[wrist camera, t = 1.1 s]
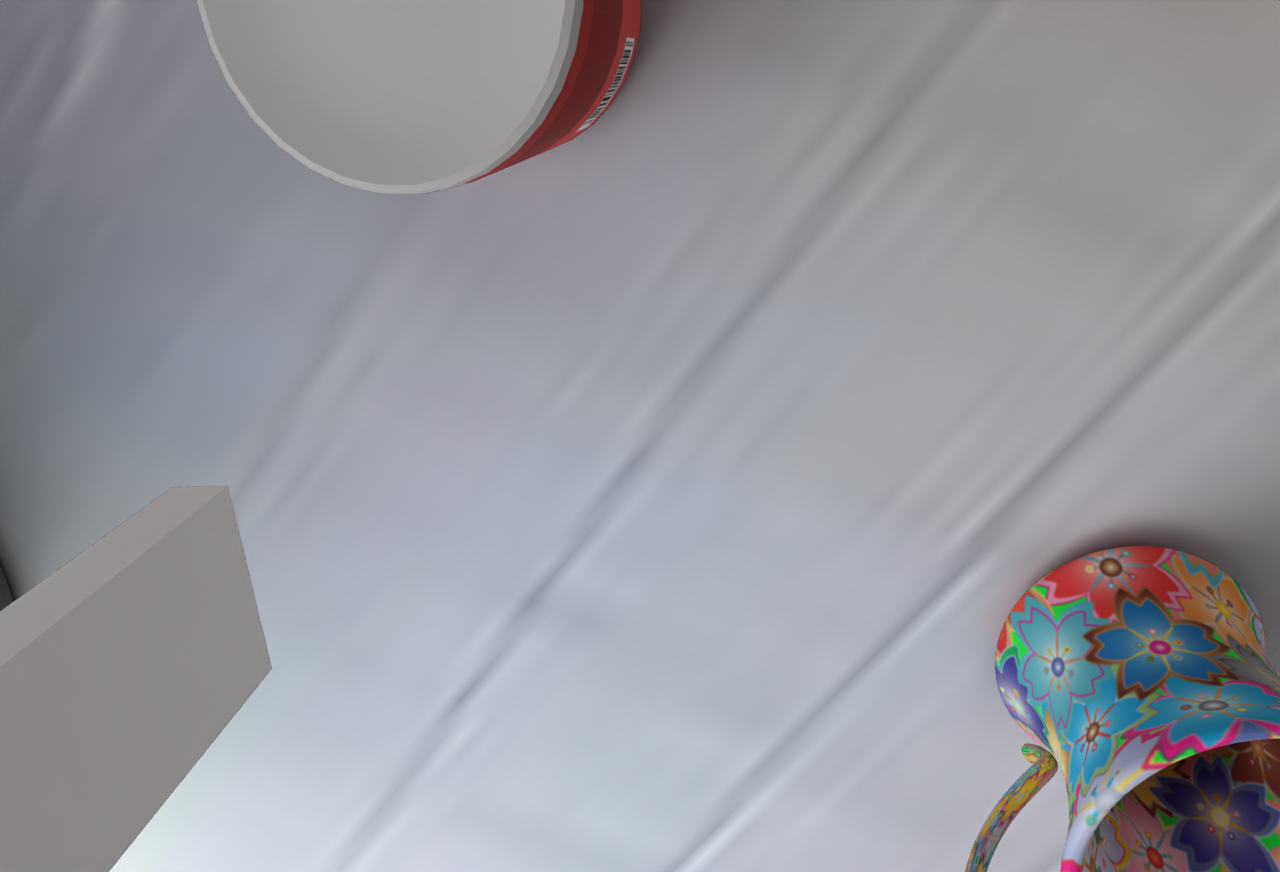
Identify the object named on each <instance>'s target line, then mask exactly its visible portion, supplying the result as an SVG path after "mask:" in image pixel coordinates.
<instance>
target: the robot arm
mask: <svg viewBox="0 0 1280 872" xmlns="http://www.w3.org/2000/svg"><path fill="white" fill-rule="evenodd" d="M271 669H272V667H271V663H270V658H269V654H268V650H267V646H266V642H265V638H264V633H263V629H262V625H261V621H260V617H259V613H258V608H257V604H256V600H255V596H254V592H253V588H252V583H251V579H250V575H249V571H248V567H247V563H246V558H245V554H244V550H243V546H242V542H241V538H240V533H239V529H238V525H237V521H236V517H235V513H234V509H233V504H232V500H231V496H230V492H229V488H228V486H194V487H172V488H170V489H169V490H168V491H166V492H165V493H164V494H162V495H161V496H159V497H158V498H157V499H155V500H154V501H152V502H151V503H150V504H148V505H147V506H146V507H144V508H143V509H141V510H140V511H139V512H137V513H136V514H134V515H133V516H132V517H130V518H129V519H128V520H126V521H125V522H123V523H122V524H121V525H119V526H118V527H116V528H115V529H114V530H112V531H111V532H110V533H108V534H107V535H105V536H104V537H103V538H101V539H100V540H98V541H97V542H96V543H94V544H93V545H92V546H90V547H89V548H87V549H86V550H85V551H83V552H82V553H80V554H79V555H78V556H76V557H75V558H74V559H72V560H71V561H69V562H68V563H67V564H65V565H64V566H62V567H61V568H60V569H58V570H57V571H56V572H54V573H53V574H51V575H50V576H49V577H47V578H46V579H44V580H43V581H42V582H40V583H39V584H38V585H36V586H35V587H33V588H32V589H31V590H29V591H28V592H26V593H25V594H24V595H22V596H21V597H20V598H18V599H17V600H15V601H14V602H13V599H12V595H11V592H10V589H9V586H8V583H7V580H6V578H5V575H4V573H3V571H2V568H1V566H0V872H109V871H110V870H111V869H112V867H113V866H114V865H115V864H116V862H117V861H118V860H119V859H120V857H121V856H122V855H123V854H124V852H125V851H126V850H127V849H128V847H129V846H130V845H131V844H132V842H133V841H134V840H135V839H136V837H137V836H138V835H139V834H140V832H141V831H142V830H143V829H144V827H145V826H146V825H147V824H148V822H149V821H150V820H151V819H152V817H153V816H154V815H155V814H156V813H157V811H158V810H159V809H160V808H161V806H162V805H163V804H164V803H165V801H166V800H167V799H168V798H169V796H170V795H171V794H172V793H173V791H174V790H175V789H176V788H177V786H178V785H179V784H180V783H181V781H182V780H183V779H184V778H185V776H186V775H187V774H188V773H189V771H190V770H191V769H192V768H193V766H194V765H195V764H196V763H197V761H198V760H199V759H200V758H201V756H202V755H203V754H204V753H205V751H206V750H207V749H208V748H209V746H210V745H211V744H212V743H213V742H214V740H215V739H216V738H217V737H218V735H219V734H220V733H221V732H222V730H223V729H224V728H225V727H226V725H227V724H228V723H229V722H230V720H231V719H232V718H233V717H234V715H235V714H236V713H237V712H238V710H239V709H240V708H241V707H242V705H243V704H244V703H245V702H246V700H247V699H248V698H249V697H250V695H251V694H252V693H253V692H254V690H255V689H256V688H257V687H258V685H259V684H260V683H261V682H262V680H263V679H264V678H265V677H266V676H267V674H268V673H269V672H270V671H271Z"/></svg>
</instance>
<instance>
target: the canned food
mask: <svg viewBox="0 0 1280 872" xmlns="http://www.w3.org/2000/svg"><path fill="white" fill-rule="evenodd" d="M197 4H198V8H199V11H200V14H201V18H202V21H203V24H204V28H205V31H206V34H207V38H208V41H209V44H210V47H211V49H212V51H213V53H214V56H215V58H216V60H217V62H218V64H219V66H220V68H221V70H222V72H223V74H224V76H225V78H226V81H227V83H228V85H229V86H230V88H231V89H232V91H233V92H234V93H235V95H236V96H237V98H238V99H239V101H240V102H241V103H242V105H243V106H244V108H245V109H246V111H247V112H248V114H249V115H250V116H251V118H252V119H253V120H254V121H255V122H256V123H257V124H258V125H259V126H260V127H261V128H262V129H263V130H264V131H265V133H266V134H267V135H268V136H269V137H270V138H271V139H272V140H273V141H274V142H275V143H276V144H277V145H278V146H279V147H280V148H282V149H283V150H284V151H286V152H287V153H289V154H290V155H291V156H293V157H294V158H296V159H297V160H298V161H300V162H301V163H303V164H304V165H305V166H307V167H308V168H310V169H311V170H313V171H315V172H317V173H320V174H322V175H324V176H326V177H328V178H330V179H333V180H335V181H337V182H339V183H341V184H343V185H347V186H351V187H355V188H359V189H363V190H368V191H372V192H376V193H396V194H424V193H429V192H434V191H439V190H444V189H449V188H454V187H458V186H460V185H463V184H465V183H470V182H473V181H476V180H478V179H481V178H483V177H485V176H488V175H490V174H493V173H495V172H497V171H500V170H502V169H504V168H507V167H509V166H512V165H514V164H516V163H519V162H521V161H524V160H526V159H528V158H531V157H533V156H536V155H538V154H540V153H543V152H545V151H548V150H550V149H552V148H554V147H557V146H559V145H561V144H563V143H566V142H568V141H570V140H572V139H574V138H575V137H576V136H578V135H579V134H581V133H582V132H583V131H585V130H586V129H587V128H589V127H590V126H591V125H593V124H594V123H595V122H596V121H597V119H598V118H599V117H600V116H601V115H602V114H603V113H604V112H605V111H606V110H607V108H608V107H609V106H610V105H611V104H612V102H613V100H614V99H615V97H616V95H617V94H618V92H619V90H620V89H621V87H622V85H623V84H624V82H625V80H626V78H627V75H628V72H629V70H630V67H631V64H632V62H633V59H634V56H635V53H636V48H637V42H638V37H639V32H640V26H641V0H197Z"/></svg>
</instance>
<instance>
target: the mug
mask: <svg viewBox="0 0 1280 872" xmlns="http://www.w3.org/2000/svg"><path fill="white" fill-rule="evenodd" d="M995 670H996V679H997V684H998V689H999V692H1000V695H1001V697H1002V700H1003V702H1004V704H1005V706H1006V708H1007V709H1008V711H1009V713H1010V714H1011V716H1012V717H1013V718H1014V720H1015V721H1016V722H1017V723H1018V724H1019V726H1020V727H1021V728H1022V729H1023V730H1024V731H1025V732H1026V733H1027V734H1028V735H1030V736H1031V737H1032V738H1033V739H1034V740H1036V741H1037V742H1039V743H1040V744H1042V745H1043V746H1044V747H1046V748H1048V749H1050V750H1051V752H1052V753H1053V755H1054V756H1055V758H1056V760H1057V761H1056V760H1055V758H1054V757H1053V755H1052V754H1051V753H1050V752H1048V751H1047V750H1046V749H1044V748H1042V747H1040V746H1037V745H1033V744H1024V745H1023V747H1022V753H1023V755H1024V756H1025V758H1026V759H1027V760H1028V761H1029V762H1031V763H1034V764H1033V765H1032V766H1031V767H1030V768H1029V769H1028V770H1027V771H1026V772H1025V773H1024V774H1023V775H1022V776H1021V777H1020V778H1019V779H1018V780H1017V781H1016V782H1015V783H1014V784H1013V785H1012V786H1011V787H1010V788H1009V789H1008V791H1007V792H1006V793H1005V794H1004V795H1003V796H1002V798H1001V799H1000V800H999V802H998V803H997V804H996V806H995V807H994V809H993V810H992V811H991V813H990V814H989V816H988V818H987V819H986V821H985V823H984V824H983V826H982V828H981V830H980V832H979V834H978V836H977V838H976V840H975V842H974V845H973V847H972V850H971V852H970V855H969V859H968V862H967V866H966V870H965V872H987V869H988V866H989V863H990V861H991V858H992V856H993V854H994V851H995V849H996V847H997V845H998V843H999V841H1000V840H1001V838H1002V836H1003V834H1004V833H1005V831H1006V830H1007V828H1008V827H1009V825H1010V824H1011V822H1012V821H1013V819H1014V818H1015V817H1016V816H1017V814H1018V813H1019V812H1020V811H1021V809H1022V808H1023V807H1024V806H1025V805H1026V804H1027V803H1028V802H1029V801H1030V800H1031V798H1032V797H1033V796H1034V795H1035V794H1036V793H1037V792H1038V791H1039V790H1040V789H1041V788H1042V787H1043V786H1044V785H1045V784H1046V783H1047V782H1048V781H1049V780H1050V779H1051V778H1052V777H1053V776H1054V774H1055V773H1056V772H1057V769H1058V764H1059V766H1060V768H1061V771H1062V774H1063V776H1064V780H1065V784H1066V788H1067V793H1068V800H1069V827H1068V835H1067V840H1066V844H1065V847H1064V852H1063V857H1062V862H1061V872H1280V678H1279V676H1278V675H1277V674H1276V673H1275V671H1274V670H1273V669H1272V667H1271V665H1270V664H1269V662H1268V660H1267V658H1266V638H1265V632H1264V628H1263V624H1262V621H1261V618H1260V615H1259V613H1258V611H1257V609H1256V607H1255V605H1254V603H1253V601H1252V600H1251V598H1250V597H1249V595H1248V594H1247V592H1246V591H1245V590H1244V589H1243V588H1242V587H1241V586H1240V584H1239V583H1238V582H1236V581H1235V580H1234V579H1233V578H1232V577H1231V576H1230V575H1228V574H1227V573H1226V572H1224V571H1223V570H1221V569H1220V568H1218V567H1216V566H1215V565H1213V564H1211V563H1209V562H1207V561H1205V560H1203V559H1201V558H1199V557H1196V556H1194V555H1191V554H1188V553H1185V552H1182V551H1178V550H1173V549H1169V548H1162V547H1152V546H1127V547H1118V548H1112V549H1107V550H1102V551H1098V552H1094V553H1091V554H1088V555H1085V556H1082V557H1079V558H1077V559H1074V560H1072V561H1070V562H1068V563H1066V564H1064V565H1062V566H1060V567H1058V568H1057V569H1055V570H1053V571H1052V572H1050V573H1049V574H1047V575H1046V576H1044V577H1043V578H1042V579H1040V580H1039V581H1038V582H1037V583H1036V584H1034V585H1033V586H1032V587H1031V588H1030V589H1029V590H1028V591H1027V592H1026V593H1025V594H1024V595H1023V596H1022V597H1021V599H1020V600H1019V601H1018V602H1017V603H1016V605H1015V606H1014V608H1013V609H1012V611H1011V612H1010V614H1009V616H1008V618H1007V619H1006V621H1005V623H1004V626H1003V628H1002V631H1001V633H1000V637H999V640H998V644H997V650H996V662H995ZM1057 762H1058V764H1057Z"/></svg>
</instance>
